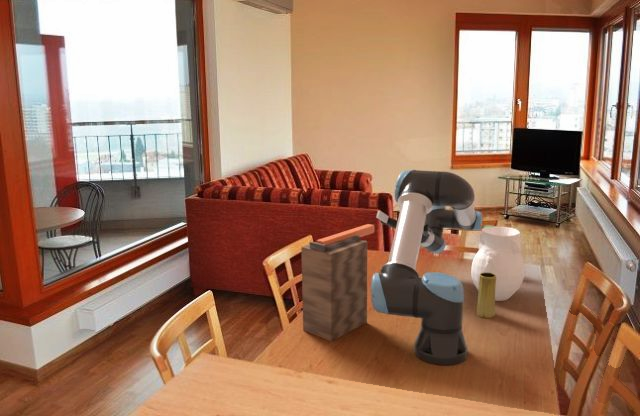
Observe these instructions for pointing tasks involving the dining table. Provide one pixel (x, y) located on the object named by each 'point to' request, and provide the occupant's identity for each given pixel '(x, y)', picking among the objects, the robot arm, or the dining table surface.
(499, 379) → the dining table surface
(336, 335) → the stand
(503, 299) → the pitcher
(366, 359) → the dining table surface
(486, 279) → the vase
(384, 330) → the dining table surface
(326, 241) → the lever bar
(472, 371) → the dining table surface
